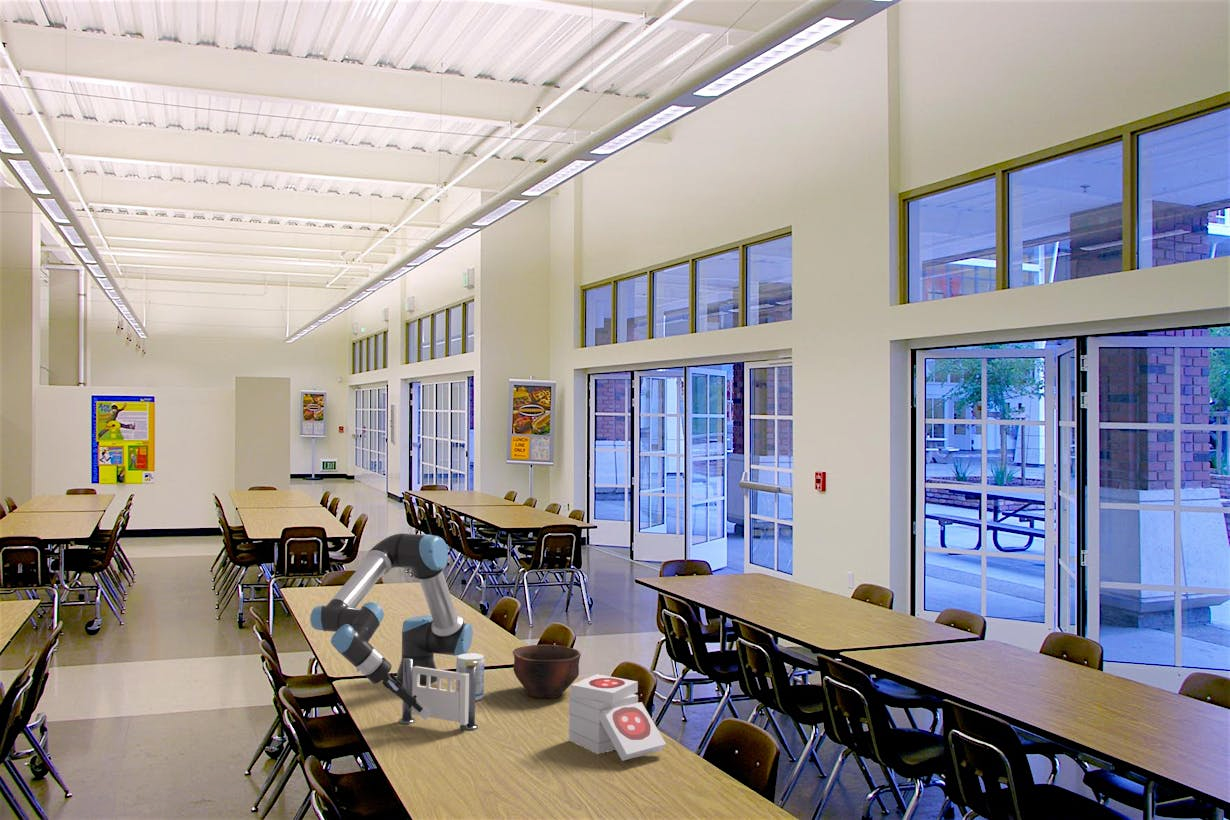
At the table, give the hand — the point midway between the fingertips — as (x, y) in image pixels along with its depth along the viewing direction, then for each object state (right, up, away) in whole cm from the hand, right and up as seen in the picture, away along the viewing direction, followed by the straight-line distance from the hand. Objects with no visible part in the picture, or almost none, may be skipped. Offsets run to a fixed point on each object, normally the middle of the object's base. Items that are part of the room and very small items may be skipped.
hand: (427, 716), depth 294 cm
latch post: (+12, -6, +6) cm, 15 cm away
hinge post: (-9, -5, +11) cm, 15 cm away
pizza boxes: (+58, -7, -9) cm, 59 cm away
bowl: (+33, -7, +45) cm, 57 cm away
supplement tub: (+7, -6, +38) cm, 39 cm away
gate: (+3, -5, +6) cm, 8 cm away
